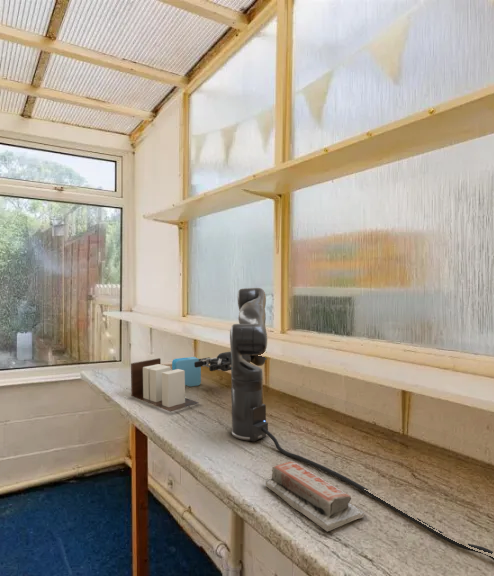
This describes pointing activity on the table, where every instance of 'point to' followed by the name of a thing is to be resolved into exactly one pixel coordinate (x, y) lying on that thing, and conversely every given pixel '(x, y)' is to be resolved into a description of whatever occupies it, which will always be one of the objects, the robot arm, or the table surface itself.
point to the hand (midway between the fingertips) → (202, 366)
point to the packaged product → (312, 496)
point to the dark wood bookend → (138, 385)
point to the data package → (188, 370)
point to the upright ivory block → (173, 387)
